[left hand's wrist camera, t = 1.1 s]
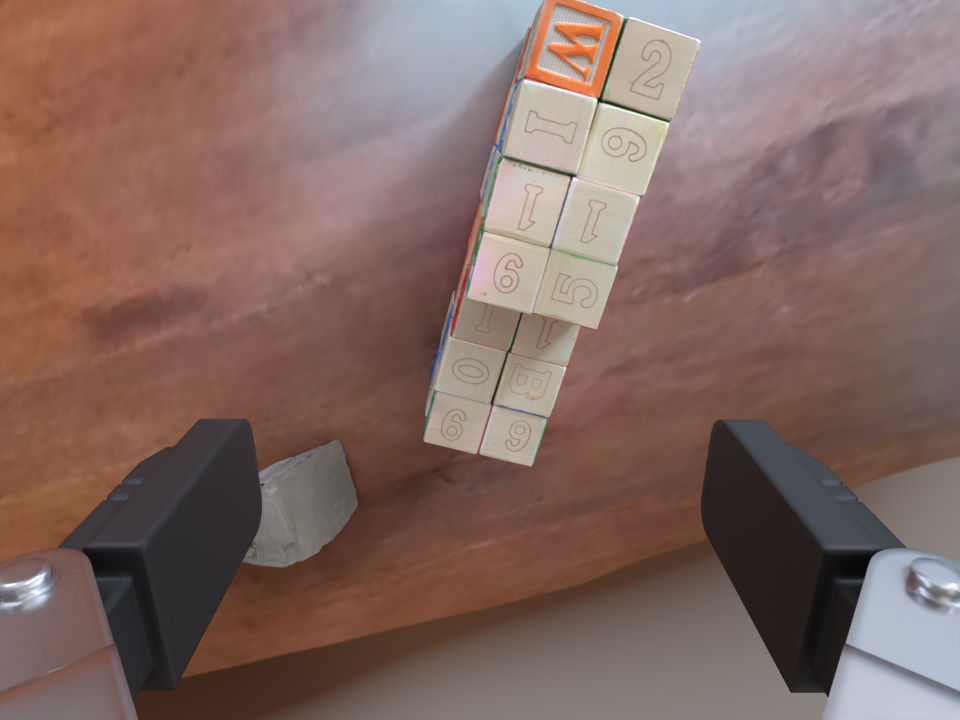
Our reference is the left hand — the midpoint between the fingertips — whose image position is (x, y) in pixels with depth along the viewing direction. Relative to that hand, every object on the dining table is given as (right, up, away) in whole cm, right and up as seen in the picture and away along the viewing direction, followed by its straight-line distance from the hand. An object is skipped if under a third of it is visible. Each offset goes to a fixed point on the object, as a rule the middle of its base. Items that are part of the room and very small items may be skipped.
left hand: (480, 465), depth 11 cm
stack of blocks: (+3, +10, +28) cm, 30 cm away
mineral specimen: (-12, -6, +34) cm, 36 cm away
